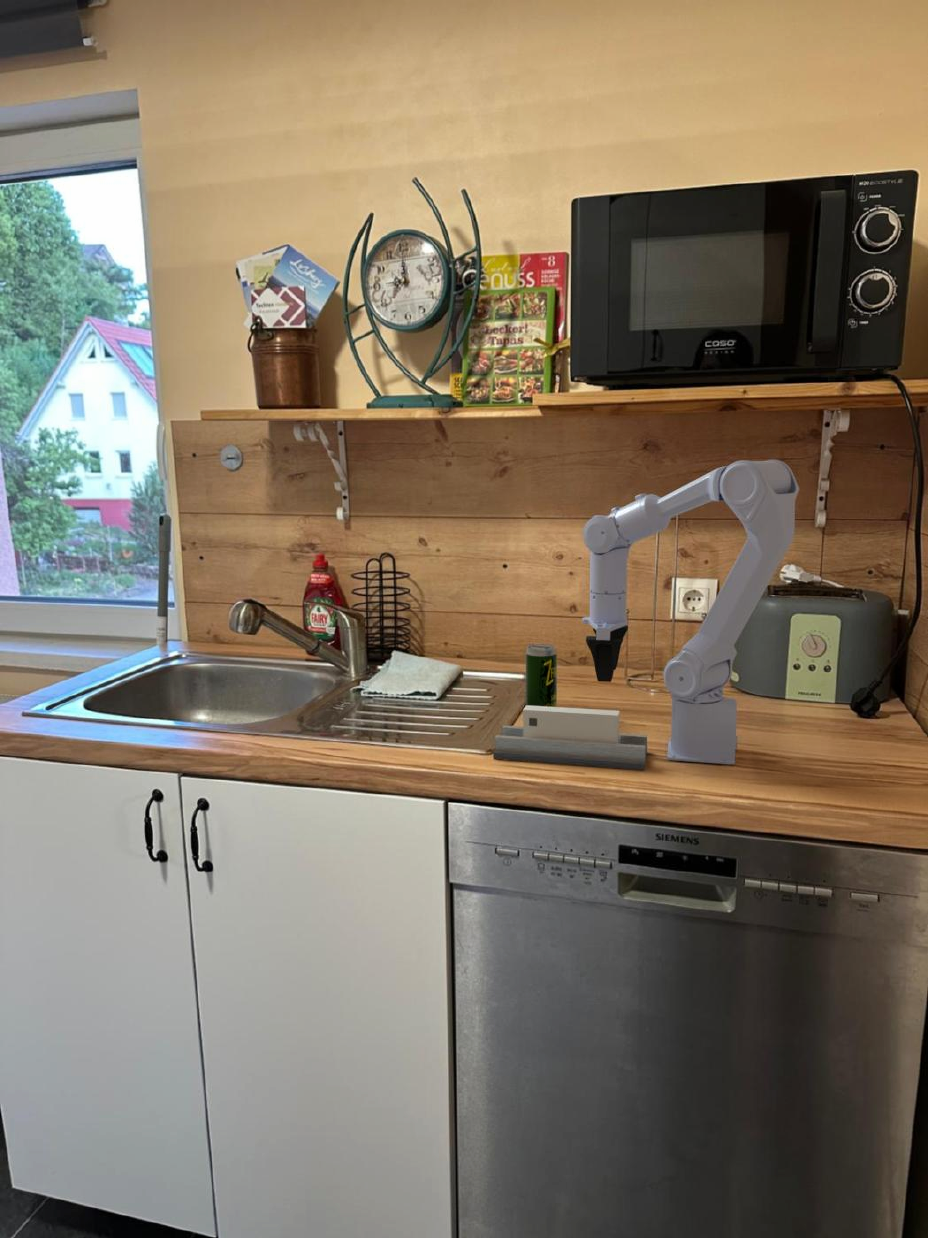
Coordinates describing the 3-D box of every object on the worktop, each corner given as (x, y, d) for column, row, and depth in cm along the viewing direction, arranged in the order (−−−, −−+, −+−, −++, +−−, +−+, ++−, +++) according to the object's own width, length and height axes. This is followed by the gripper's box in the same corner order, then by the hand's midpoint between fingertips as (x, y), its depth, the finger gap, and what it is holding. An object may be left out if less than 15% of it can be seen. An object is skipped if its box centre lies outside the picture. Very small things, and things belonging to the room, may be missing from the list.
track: (647, 751, 126) (647, 732, 125) (644, 770, 118) (644, 750, 118) (505, 741, 131) (504, 723, 131) (493, 758, 124) (493, 739, 123)
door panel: (618, 749, 124) (619, 710, 123) (617, 755, 122) (618, 715, 120) (526, 742, 128) (526, 705, 127) (523, 748, 125) (523, 709, 124)
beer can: (520, 716, 144) (520, 648, 142) (533, 708, 149) (533, 642, 147) (549, 720, 142) (549, 651, 140) (561, 712, 146) (561, 645, 144)
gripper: (588, 584, 139) (587, 663, 142) (576, 598, 125) (575, 685, 128) (631, 585, 137) (629, 665, 140) (624, 599, 124) (622, 687, 126)
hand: (607, 675), depth 134 cm, fingers open, 7 cm apart
